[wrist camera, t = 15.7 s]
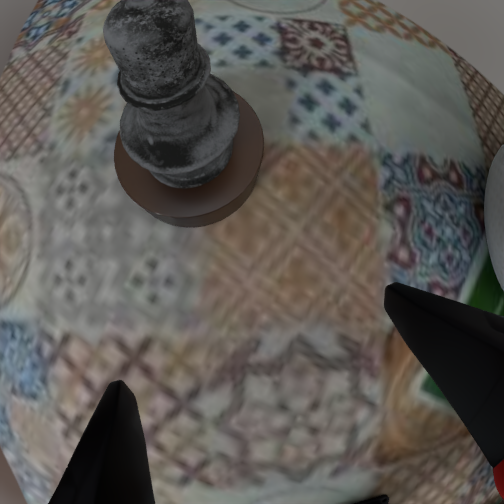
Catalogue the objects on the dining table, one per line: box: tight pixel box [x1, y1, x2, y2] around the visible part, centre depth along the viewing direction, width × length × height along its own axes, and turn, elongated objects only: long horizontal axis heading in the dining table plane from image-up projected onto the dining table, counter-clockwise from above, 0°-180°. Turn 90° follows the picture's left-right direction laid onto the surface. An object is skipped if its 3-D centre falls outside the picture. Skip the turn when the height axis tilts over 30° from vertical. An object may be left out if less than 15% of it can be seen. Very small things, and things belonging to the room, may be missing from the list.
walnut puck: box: [114, 91, 264, 227], centre depth 19 cm, size 9×9×4 cm
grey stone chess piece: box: [103, 0, 240, 189], centre depth 11 cm, size 6×6×12 cm
